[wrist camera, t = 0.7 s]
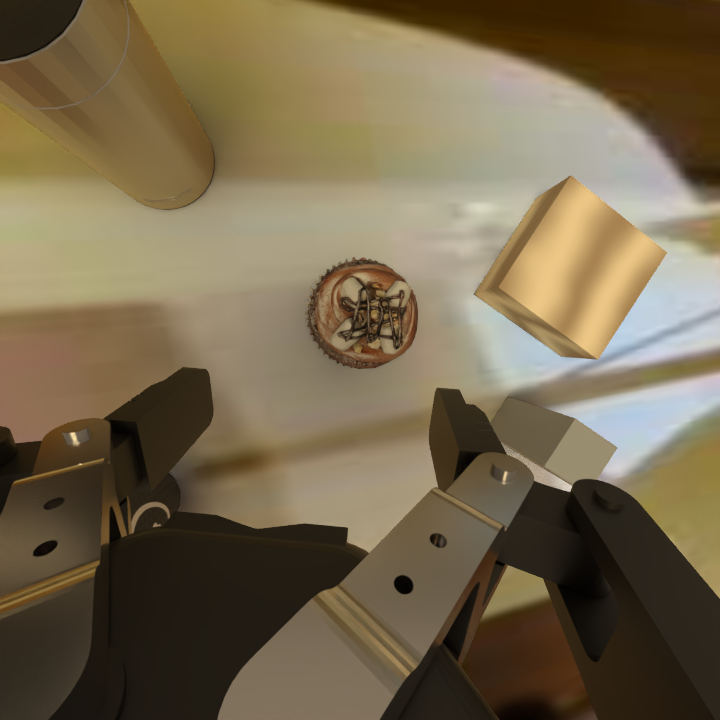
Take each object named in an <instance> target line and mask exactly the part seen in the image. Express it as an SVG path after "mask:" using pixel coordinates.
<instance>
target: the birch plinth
mask: <svg viewBox="0 0 720 720" xmlns="http://www.w3.org/2000/svg"><path fill="white" fill-rule="evenodd" d="M666 254H667V252H666V251H664V250H663V249H662V248H661V247H659V246H658V245H657V244H656V243H654V242H653V241H652V240H651V239H649V238H648V237H647V236H646V235H645V234H643V233H642V232H641V231H640V230H638V229H637V228H636V227H635V226H633V225H632V224H631V223H630V222H628V221H627V220H626V219H625V218H623V217H622V216H621V215H620V214H618V213H617V212H616V211H615V210H613V209H612V208H611V207H610V206H608V205H607V204H606V203H605V202H603V201H602V200H601V199H600V198H598V197H597V196H596V195H595V194H593V193H592V192H591V191H590V190H588V189H587V188H586V187H585V186H584V185H582V184H581V183H580V182H579V181H577V180H576V179H575V178H574V177H572V176H569V177H568V178H566V179H565V180H563V181H562V182H560V183H559V184H557V185H555V186H554V187H552V188H551V189H549V190H548V191H546V192H545V193H543V194H542V195H540V196H539V197H537V198H536V200H535V201H534V203H533V204H532V206H531V207H530V209H529V210H528V212H527V213H526V215H525V217H524V218H523V220H522V221H521V223H520V224H519V226H518V227H517V229H516V230H515V232H514V233H513V235H512V237H511V238H510V240H509V241H508V243H507V244H506V246H505V247H504V249H503V250H502V252H501V253H500V255H499V257H498V258H497V260H496V261H495V263H494V264H493V266H492V267H491V269H490V270H489V272H488V274H487V275H486V277H485V278H484V280H483V281H482V283H481V284H480V286H479V287H478V289H477V290H476V292H475V294H474V295H476V296H477V297H479V298H480V299H481V300H483V301H484V302H486V303H487V304H488V305H490V306H491V307H493V308H494V309H495V310H497V311H498V312H500V313H501V314H502V315H504V316H505V317H507V318H508V319H509V320H511V321H512V322H514V323H515V324H516V325H518V326H519V327H521V328H522V329H523V330H525V331H526V332H528V333H529V334H530V335H532V336H533V337H535V338H536V339H537V340H539V341H540V342H542V343H543V344H544V345H546V346H547V347H549V348H550V349H551V350H553V351H554V352H556V353H557V354H558V355H560V356H561V357H573V358H586V359H599V357H600V356H601V354H602V352H603V351H604V349H605V348H606V346H607V345H608V343H609V342H610V340H611V339H612V337H613V336H614V334H615V332H616V331H617V329H618V328H619V326H620V325H621V323H622V322H623V320H624V319H625V317H626V315H627V314H628V312H629V311H630V309H631V308H632V306H633V305H634V303H635V302H636V300H637V298H638V297H639V295H640V294H641V292H642V291H643V289H644V288H645V286H646V285H647V283H648V282H649V280H650V278H651V277H652V275H653V274H654V272H655V271H656V269H657V268H658V266H659V265H660V263H661V261H662V260H663V258H664V257H665V255H666Z"/></svg>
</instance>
